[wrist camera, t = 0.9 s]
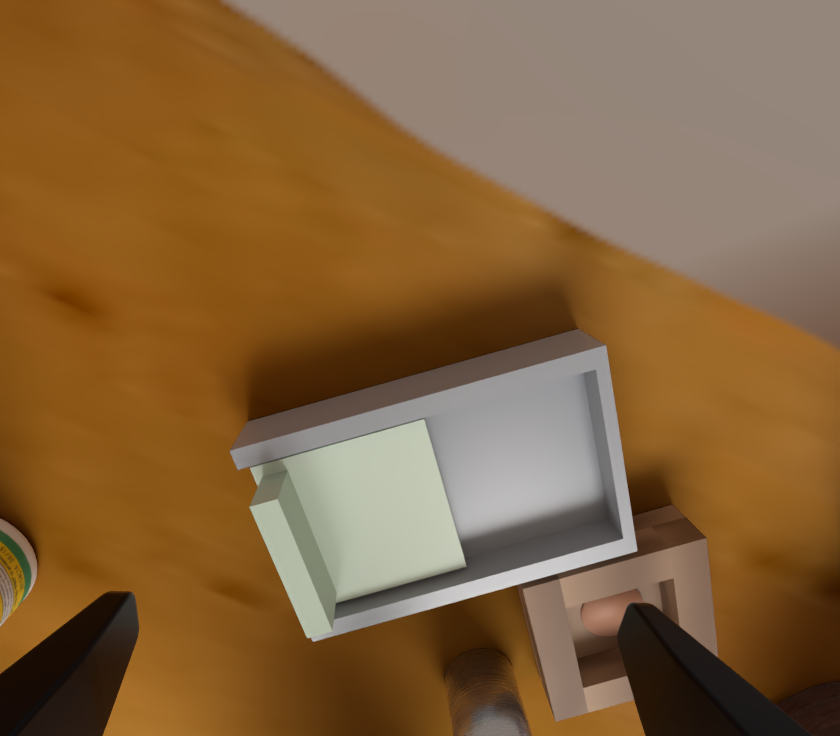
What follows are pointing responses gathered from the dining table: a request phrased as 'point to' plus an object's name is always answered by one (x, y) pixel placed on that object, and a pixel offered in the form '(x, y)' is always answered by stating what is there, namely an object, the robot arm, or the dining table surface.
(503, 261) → the dining table surface
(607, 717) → the dining table surface
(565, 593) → the socket board
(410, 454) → the lid
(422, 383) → the gray box
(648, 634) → the robot arm
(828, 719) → the dark ball on stand
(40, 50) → the dining table surface
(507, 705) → the peg
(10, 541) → the supplement bottle
